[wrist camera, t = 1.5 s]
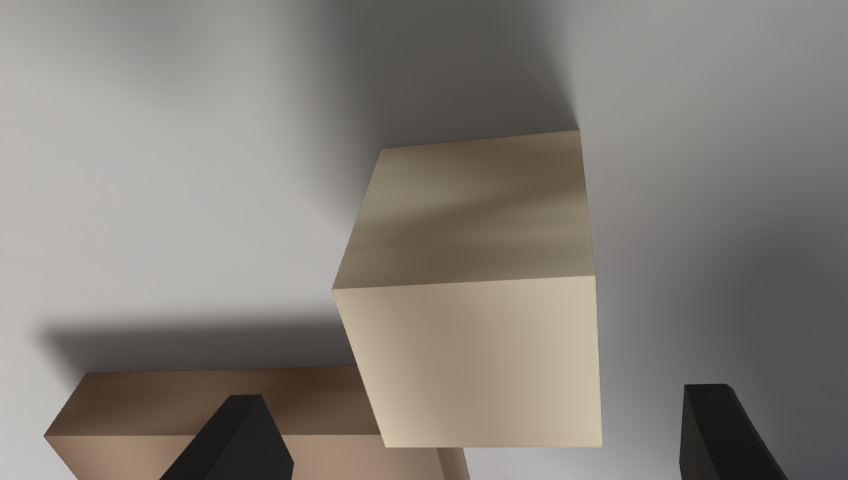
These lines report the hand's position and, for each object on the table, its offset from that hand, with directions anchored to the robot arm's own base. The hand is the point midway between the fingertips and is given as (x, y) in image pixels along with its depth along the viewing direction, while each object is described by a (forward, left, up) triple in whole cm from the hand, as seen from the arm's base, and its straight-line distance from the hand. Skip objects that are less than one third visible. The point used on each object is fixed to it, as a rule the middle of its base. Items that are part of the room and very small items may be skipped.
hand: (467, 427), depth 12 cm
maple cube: (0, 0, -6) cm, 6 cm away
